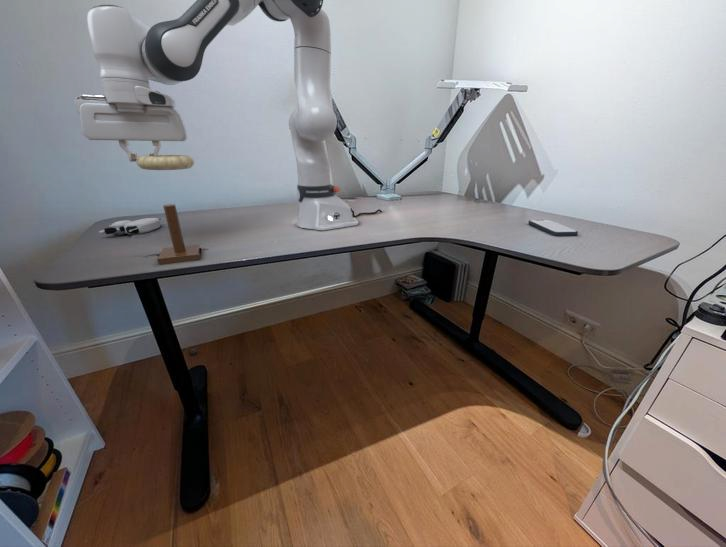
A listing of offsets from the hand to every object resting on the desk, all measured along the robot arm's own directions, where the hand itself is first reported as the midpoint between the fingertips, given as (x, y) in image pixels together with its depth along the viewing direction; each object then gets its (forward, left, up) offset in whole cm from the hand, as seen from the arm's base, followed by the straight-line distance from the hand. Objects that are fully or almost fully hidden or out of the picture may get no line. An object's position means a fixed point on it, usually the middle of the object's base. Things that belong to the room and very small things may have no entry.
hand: (145, 161), depth 76 cm
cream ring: (-4, 0, 0) cm, 4 cm away
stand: (-4, +4, -24) cm, 24 cm away
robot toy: (+12, -25, -24) cm, 36 cm away
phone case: (-121, +21, -24) cm, 125 cm away
